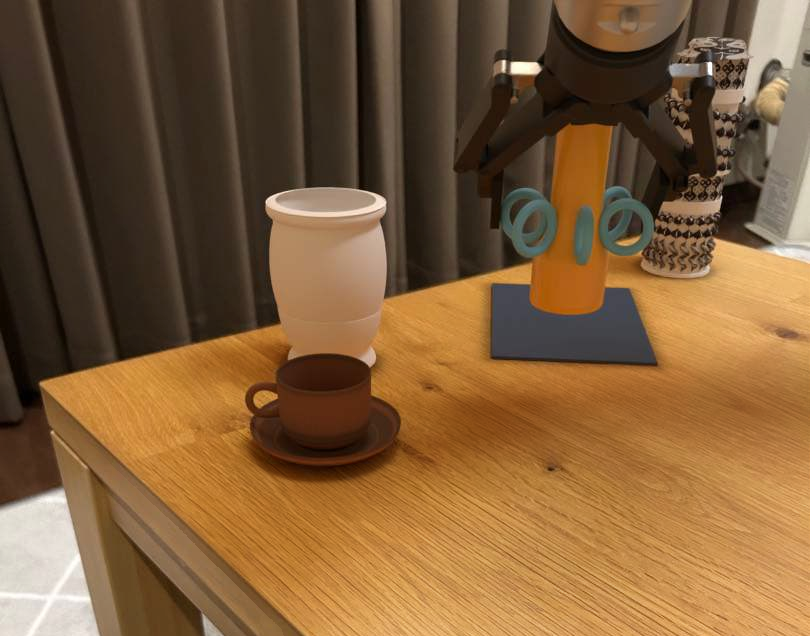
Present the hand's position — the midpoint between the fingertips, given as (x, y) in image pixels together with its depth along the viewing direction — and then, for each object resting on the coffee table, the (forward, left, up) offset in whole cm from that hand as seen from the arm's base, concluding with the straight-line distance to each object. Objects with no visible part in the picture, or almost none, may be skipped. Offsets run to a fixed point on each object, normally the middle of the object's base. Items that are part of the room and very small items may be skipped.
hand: (569, 215), depth 70 cm
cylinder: (-2, +2, -7) cm, 7 cm away
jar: (+18, +11, -16) cm, 26 cm away
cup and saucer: (+5, +21, -16) cm, 27 cm away
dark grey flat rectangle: (+11, -15, -15) cm, 24 cm away
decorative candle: (+15, -40, -16) cm, 45 cm away
